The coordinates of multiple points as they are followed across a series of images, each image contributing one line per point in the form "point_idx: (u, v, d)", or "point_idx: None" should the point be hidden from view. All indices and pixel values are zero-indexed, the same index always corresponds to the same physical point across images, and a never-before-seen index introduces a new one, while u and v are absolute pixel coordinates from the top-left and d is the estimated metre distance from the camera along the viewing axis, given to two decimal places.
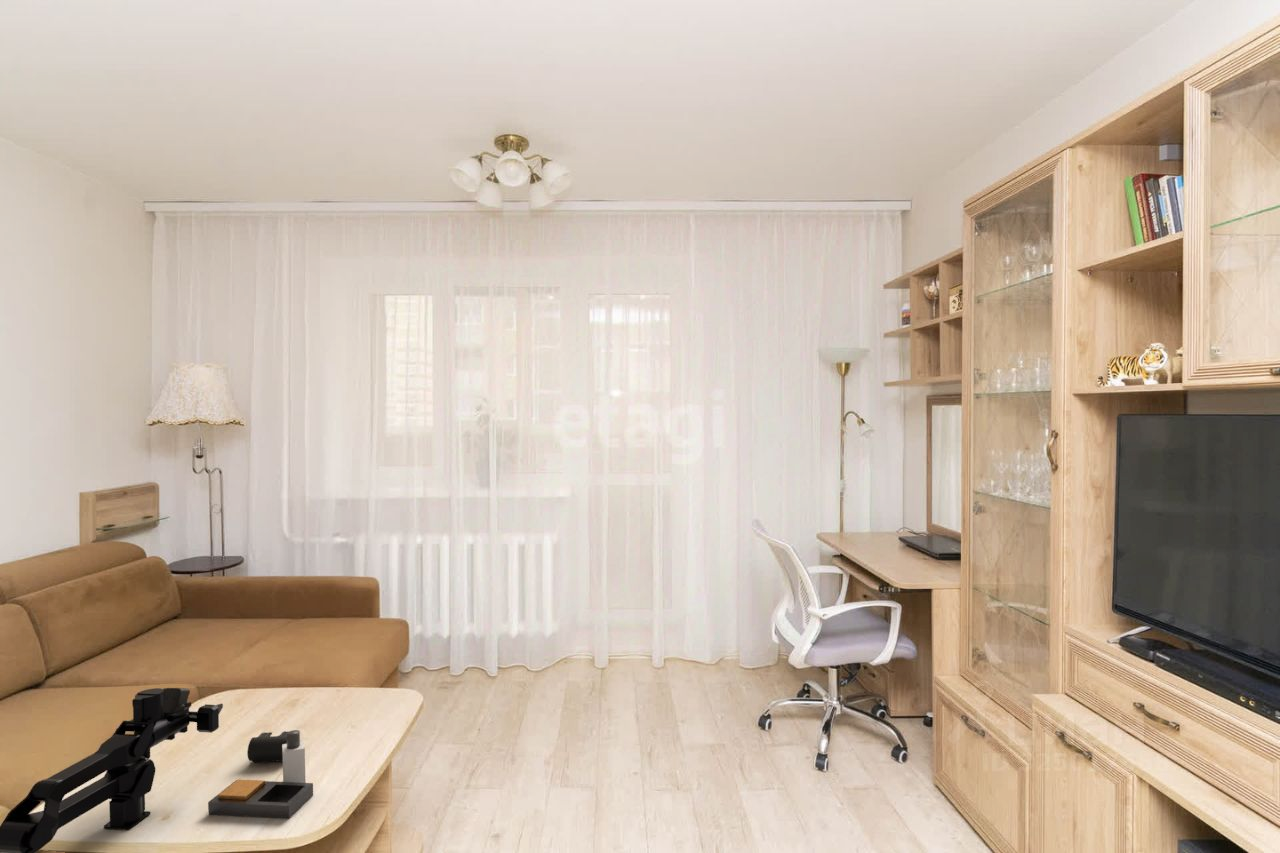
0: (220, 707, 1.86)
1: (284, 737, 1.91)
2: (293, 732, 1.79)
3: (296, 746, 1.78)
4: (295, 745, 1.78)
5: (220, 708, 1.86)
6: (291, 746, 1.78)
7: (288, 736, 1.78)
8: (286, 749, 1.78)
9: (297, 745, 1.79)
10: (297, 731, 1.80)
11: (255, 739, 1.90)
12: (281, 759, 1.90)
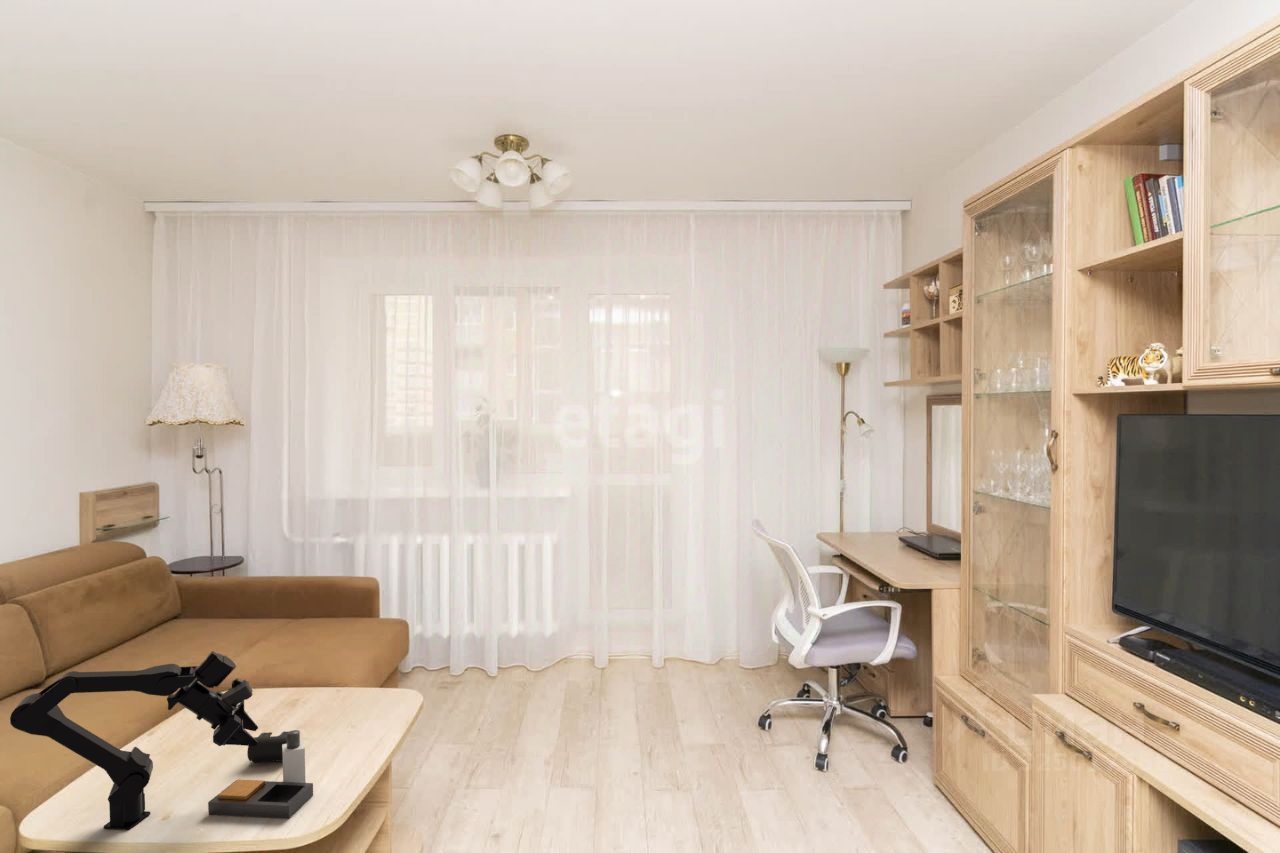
0: (251, 742, 1.70)
1: (284, 737, 1.91)
2: (293, 732, 1.79)
3: (296, 746, 1.78)
4: (295, 745, 1.78)
5: (250, 743, 1.70)
6: (291, 746, 1.78)
7: (288, 736, 1.78)
8: (286, 749, 1.78)
9: (297, 745, 1.79)
10: (297, 731, 1.80)
11: None
12: (281, 759, 1.90)
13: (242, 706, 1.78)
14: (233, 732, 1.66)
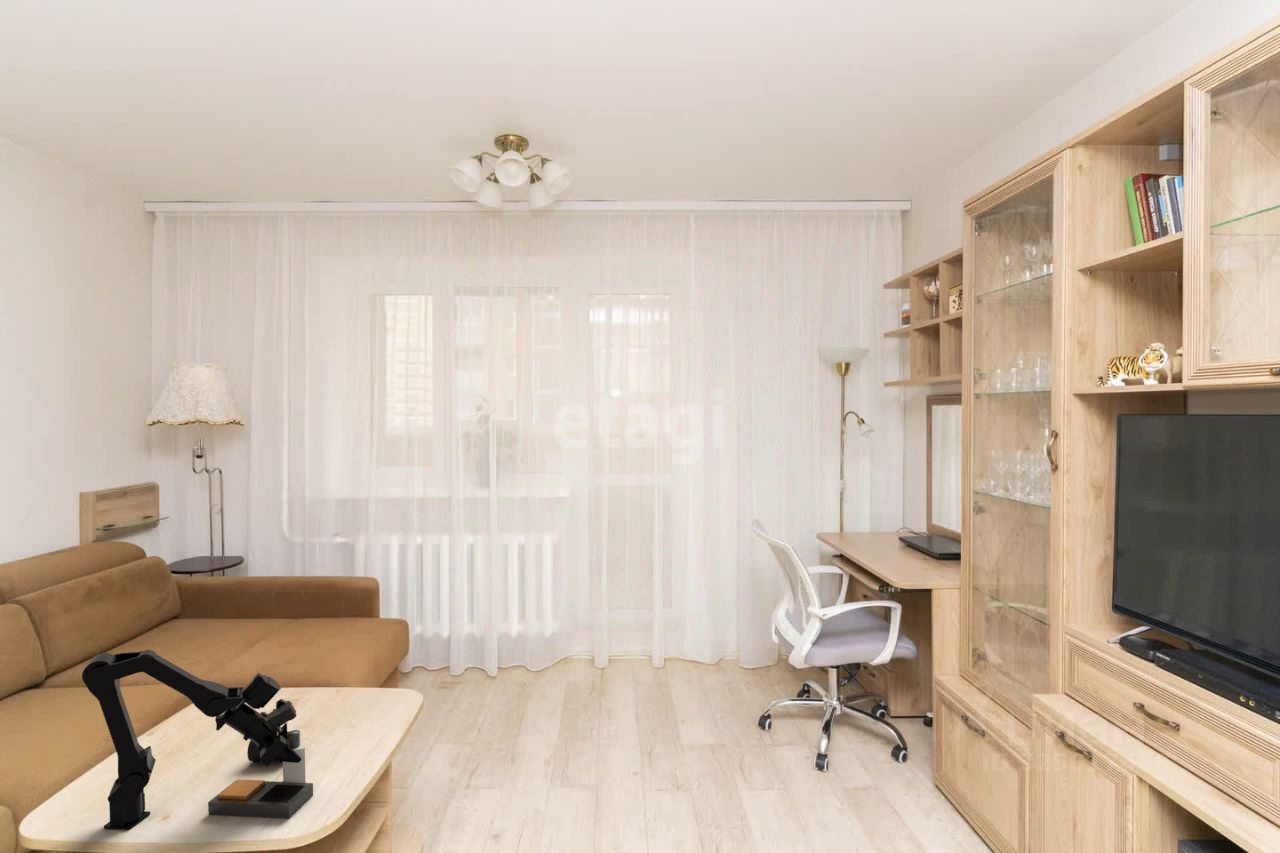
0: (295, 758, 1.77)
1: None
2: (293, 732, 1.79)
3: (296, 746, 1.78)
4: (295, 745, 1.78)
5: (294, 759, 1.76)
6: (291, 746, 1.78)
7: (288, 736, 1.78)
8: None
9: (297, 745, 1.79)
10: (297, 731, 1.80)
11: None
12: None
13: (285, 729, 1.81)
14: None
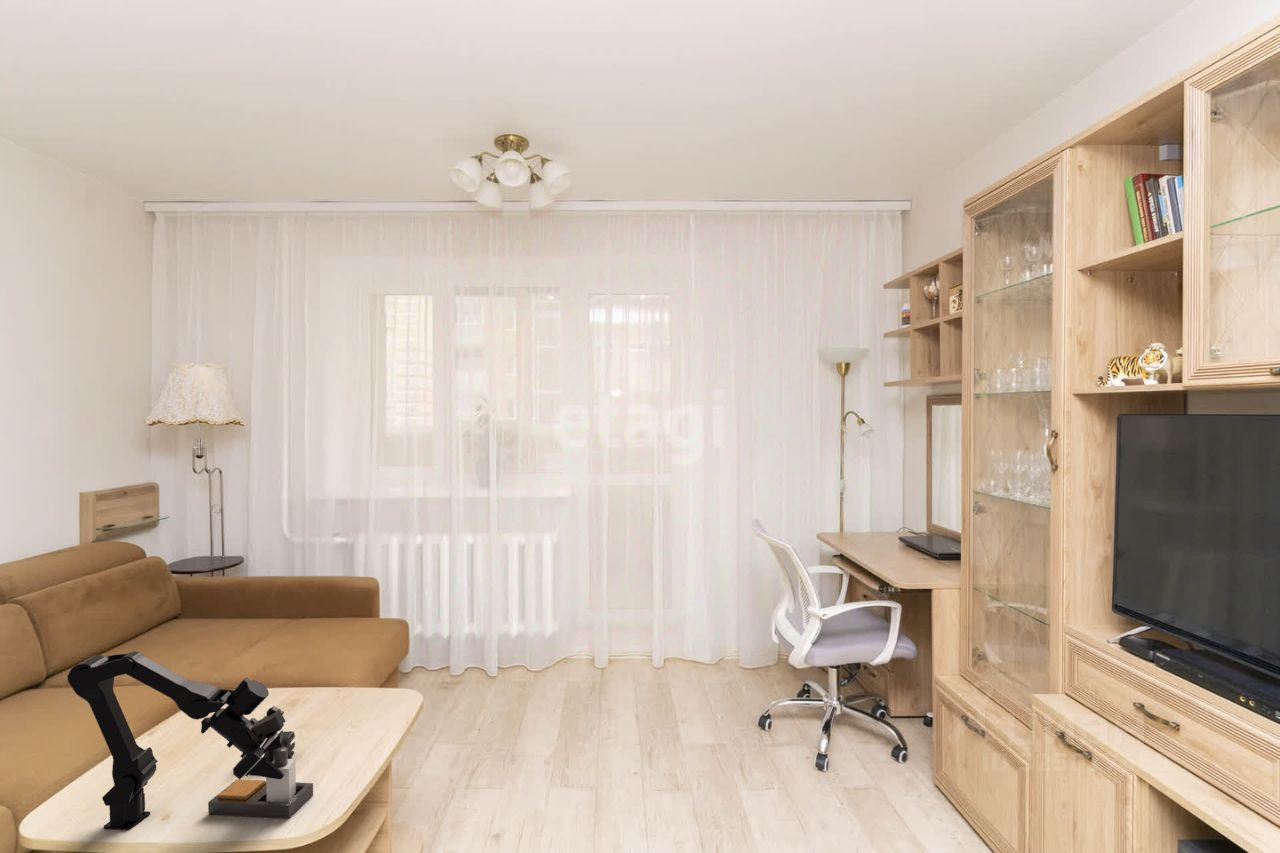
0: (276, 775, 1.65)
1: (284, 737, 1.91)
2: (281, 749, 1.69)
3: (282, 765, 1.68)
4: (281, 764, 1.68)
5: (276, 775, 1.65)
6: (276, 764, 1.67)
7: (274, 753, 1.68)
8: None
9: (283, 764, 1.68)
10: (285, 749, 1.69)
11: None
12: None
13: (278, 737, 1.73)
14: (255, 764, 1.61)
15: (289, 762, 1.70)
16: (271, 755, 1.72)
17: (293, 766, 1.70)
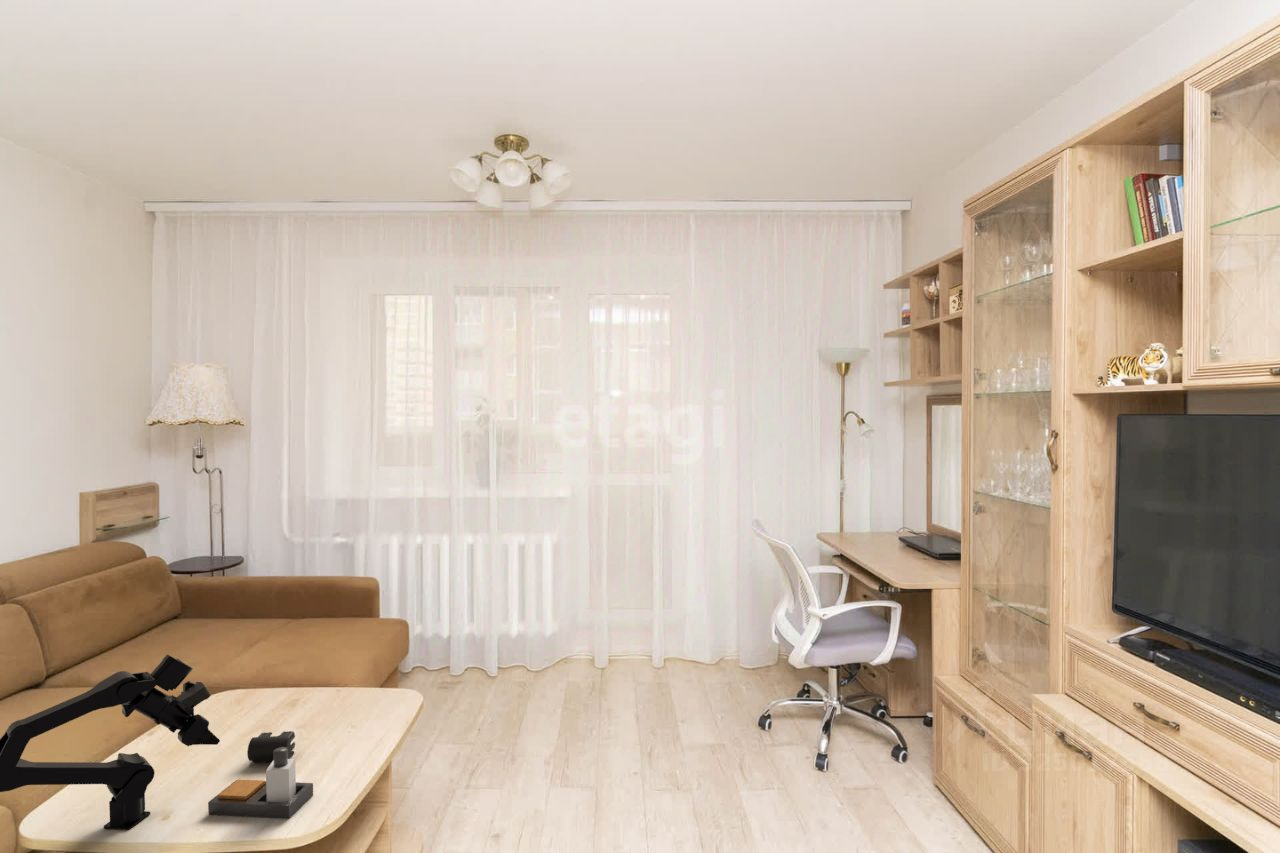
0: (214, 740, 1.72)
1: (284, 737, 1.91)
2: (281, 749, 1.69)
3: (282, 765, 1.68)
4: (281, 764, 1.68)
5: (213, 741, 1.72)
6: (276, 764, 1.67)
7: (274, 753, 1.68)
8: (272, 766, 1.68)
9: (283, 764, 1.68)
10: (285, 749, 1.69)
11: (255, 739, 1.90)
12: None
13: None
14: (200, 731, 1.67)
15: (289, 762, 1.70)
16: None
17: (293, 766, 1.70)
